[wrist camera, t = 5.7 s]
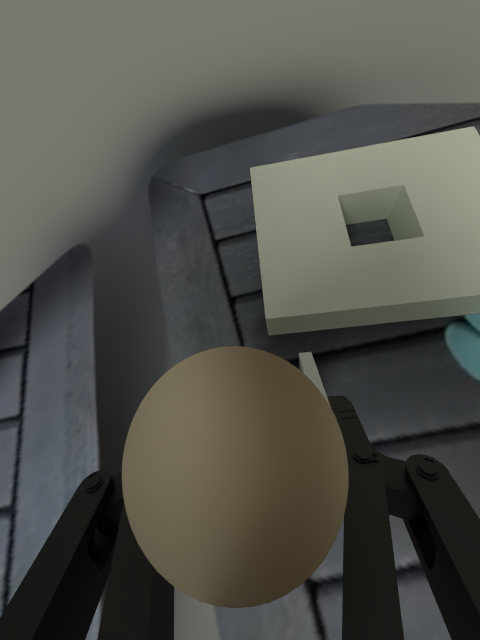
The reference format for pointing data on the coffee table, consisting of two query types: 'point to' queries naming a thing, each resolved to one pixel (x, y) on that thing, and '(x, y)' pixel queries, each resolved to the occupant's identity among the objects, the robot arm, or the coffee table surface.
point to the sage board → (373, 259)
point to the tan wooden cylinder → (235, 476)
